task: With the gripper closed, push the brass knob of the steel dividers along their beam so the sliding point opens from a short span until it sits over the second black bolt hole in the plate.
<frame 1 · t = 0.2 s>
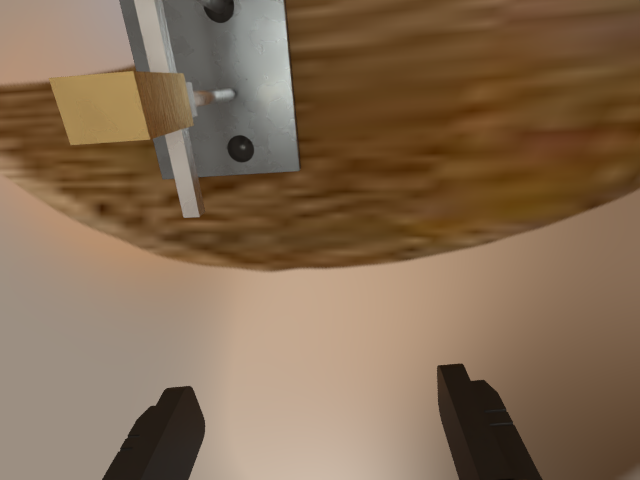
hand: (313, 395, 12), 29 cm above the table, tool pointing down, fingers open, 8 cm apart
bolt plate: (219, 83, 35), on the table
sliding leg: (175, 100, 26), point 11 cm above the table, slide at -5.0 cm
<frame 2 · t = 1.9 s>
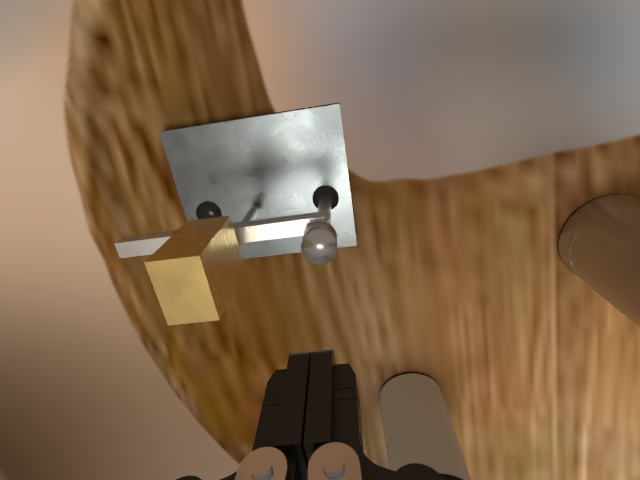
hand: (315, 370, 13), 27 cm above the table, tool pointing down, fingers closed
bolt plate: (265, 187, 38), on the table
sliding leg: (227, 229, 28), point 11 cm above the table, slide at -5.0 cm
travel mug: (409, 393, 49), on the table
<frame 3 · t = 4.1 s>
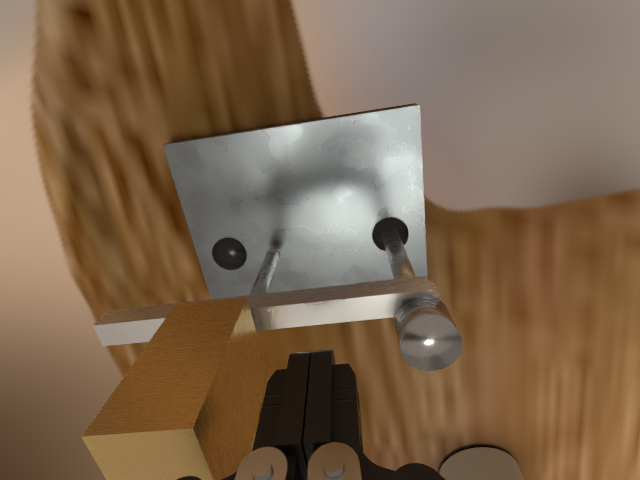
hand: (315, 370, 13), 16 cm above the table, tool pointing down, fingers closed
bolt plate: (306, 218, 28), on the table
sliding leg: (239, 302, 18), point 11 cm above the table, slide at -3.5 cm, touching gripper
travel mug: (476, 468, 39), on the table
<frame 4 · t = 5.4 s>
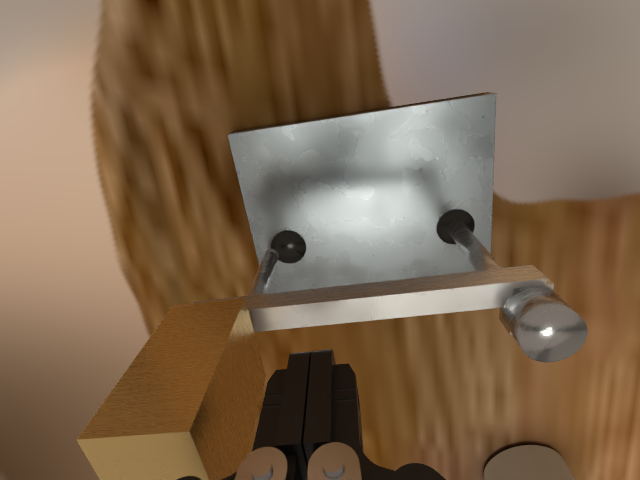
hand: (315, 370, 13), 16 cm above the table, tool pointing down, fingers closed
bolt plate: (366, 210, 28), on the table
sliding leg: (238, 303, 18), point 11 cm above the table, slide at 1.1 cm, touching gripper
travel mug: (521, 466, 38), on the table
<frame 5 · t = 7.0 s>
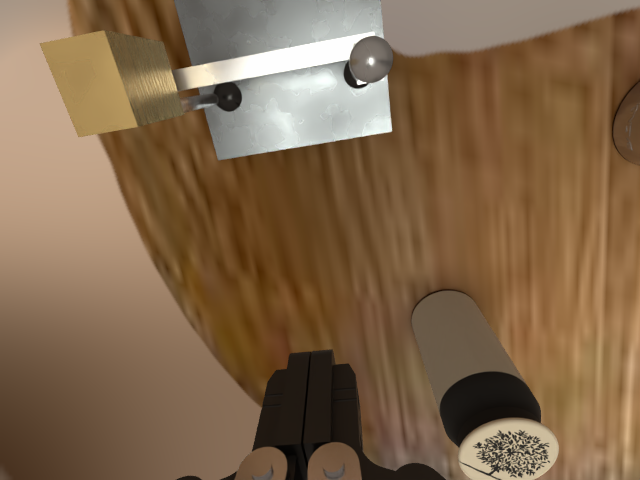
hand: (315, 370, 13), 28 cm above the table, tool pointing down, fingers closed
bolt plate: (290, 67, 34), on the table
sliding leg: (169, 83, 25), point 11 cm above the table, slide at 1.1 cm
travel mug: (443, 316, 45), on the table
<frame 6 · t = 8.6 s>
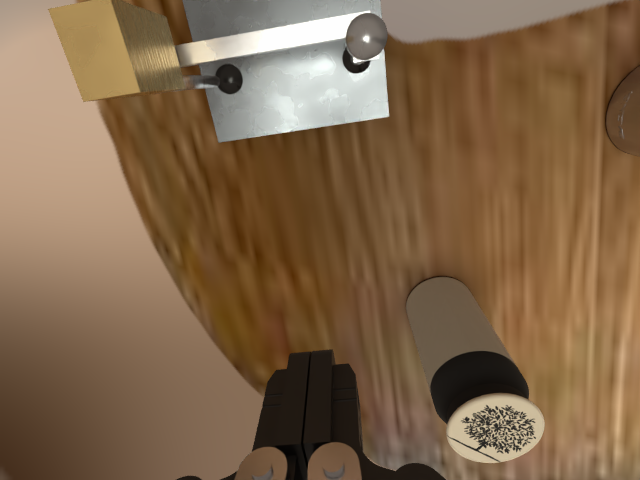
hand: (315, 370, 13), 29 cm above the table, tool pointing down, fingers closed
bolt plate: (290, 51, 35), on the table
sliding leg: (172, 59, 26), point 11 cm above the table, slide at 1.1 cm
travel mug: (437, 302, 46), on the table
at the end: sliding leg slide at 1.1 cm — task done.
